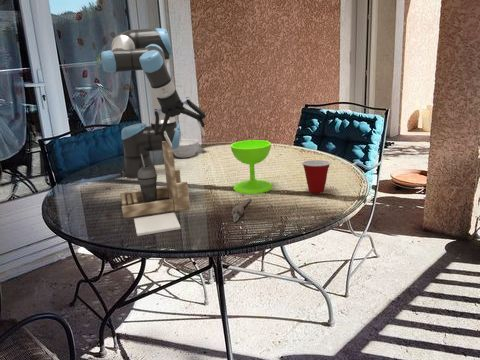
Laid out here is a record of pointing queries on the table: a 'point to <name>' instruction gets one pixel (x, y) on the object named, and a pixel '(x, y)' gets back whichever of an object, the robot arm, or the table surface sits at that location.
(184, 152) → the paper bowls
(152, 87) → the robot arm
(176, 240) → the table surface
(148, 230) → the white tile
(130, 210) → the pine rack
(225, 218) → the table surface
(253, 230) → the table surface
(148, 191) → the beverage cup
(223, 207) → the table surface
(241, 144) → the wineglass
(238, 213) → the natural artifact
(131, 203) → the plywood offcuts
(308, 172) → the plastic cup
